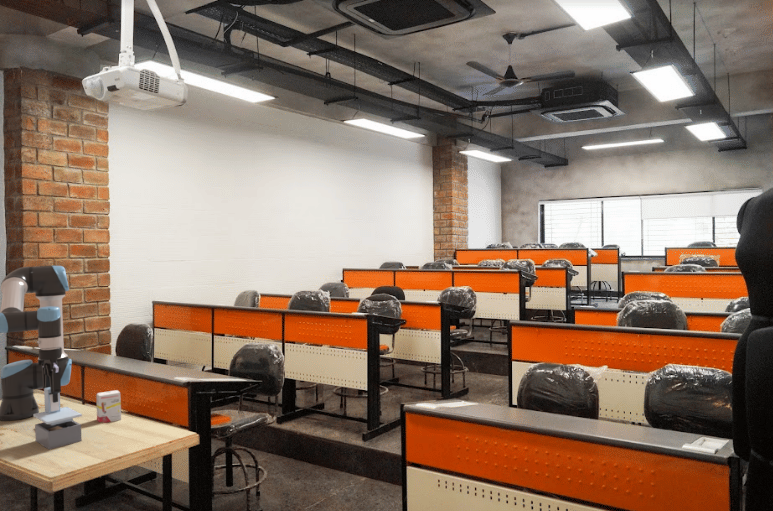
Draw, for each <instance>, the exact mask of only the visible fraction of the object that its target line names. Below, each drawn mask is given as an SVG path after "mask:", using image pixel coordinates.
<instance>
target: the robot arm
mask: <svg viewBox="0 0 773 511" xmlns="http://www.w3.org/2000/svg"><path fill="white" fill-rule="evenodd" d="M66 272H67V271H66V268H65V267H64V266H62V265H44V266H43V265H39V266H23V267H19V268H16V269H14V270H13V271H11V272H9V273H8V274H7V275H6V276H4V278H3V280H2V282H1V283H0V291H1V294H2V297H1V298H2V299H1V305H0V333H3V334H7V333H15V332H16V333H17V332H26V331H28V332H29V331H37V339H38V340H37V341H36V343H37V344H38V348H39V350H38V358H37V362H33V360H32V359H23V360H18V361H14V362H11V363H8V364H5V365H3V366H2V367H1V369H0V381H1V402H0V421H2V422H3V421H7V422H8V421H18V420H22V419H27V418H31V417H34V416H33V414H36V413H40V407H39V405H38V402H37V400H36V398H35V395H34V390H42V389H43V390H44V388H48V387H50V389H51V393H49V395H50V409H51V412H52V411H56V410H59V392H60V393H61V392H62V387H63V386H67V385H68V384H69V383H70V381H71V373H72V364H73V363H72V362H73V360H72V359H71V358H69V354H68V353H66V352H65V348H64V347H65V344H64V319H63V299H64V297H66V294H67V293H66V292H68V291H70V288H69V283H68V277H67V273H66ZM26 294H35V298H36V299H37V300H39V307H38V309H37V310H27V311H26V310H25V311H24V308H25V306H24V305H25V295H26Z"/></svg>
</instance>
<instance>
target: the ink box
mask: <svg viewBox="0 0 773 511" xmlns="http://www.w3.org/2000/svg"><path fill="white" fill-rule="evenodd" d="M121 400H122V399H121V392H120V391H119V390H118V389H116V390H110V391H104V392H102V391H101V392H97V393H96V420H97V422H99V423H103V424H106V423H111V422H117V421H121V420H122V404H121V403H122V402H121Z"/></svg>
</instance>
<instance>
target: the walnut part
mask: <svg viewBox="0 0 773 511" xmlns="http://www.w3.org/2000/svg"><path fill="white" fill-rule="evenodd" d="M61 428H62V427H59V426H57V427H53V428H50V429H47V430H49V431H53V430H57V429H61Z"/></svg>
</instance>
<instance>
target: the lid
mask: <svg viewBox="0 0 773 511" xmlns="http://www.w3.org/2000/svg"><path fill="white" fill-rule="evenodd" d="M43 392H44V393H43V394H44V397H43V398H44V411H41V412H39V413H36V414H33V416H32V417H33V418H36V419H37V420H40V421H41V423H43V422H44V423H46V424H50V425H51V426H52V425H56V424H60V423H64V422H69V421H74V419H76V418H80V417H83V414H82V413H80V412H78V411H76V410H74V409H72V408H70V407H69V406H64V407H61V394H60V393H61V392H59V410H56V411H52V412H51V409H50V395H49V393H51V389H50V387H48V388H44V389H43Z"/></svg>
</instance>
